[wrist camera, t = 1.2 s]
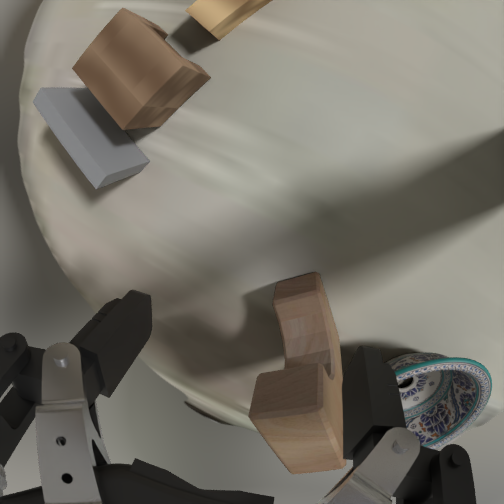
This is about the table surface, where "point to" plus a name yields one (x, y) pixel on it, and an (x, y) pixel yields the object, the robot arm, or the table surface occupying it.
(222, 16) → the tan wooden block
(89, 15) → the table surface
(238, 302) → the table surface
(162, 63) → the socket block
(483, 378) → the bowl
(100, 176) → the wall
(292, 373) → the decorative block
